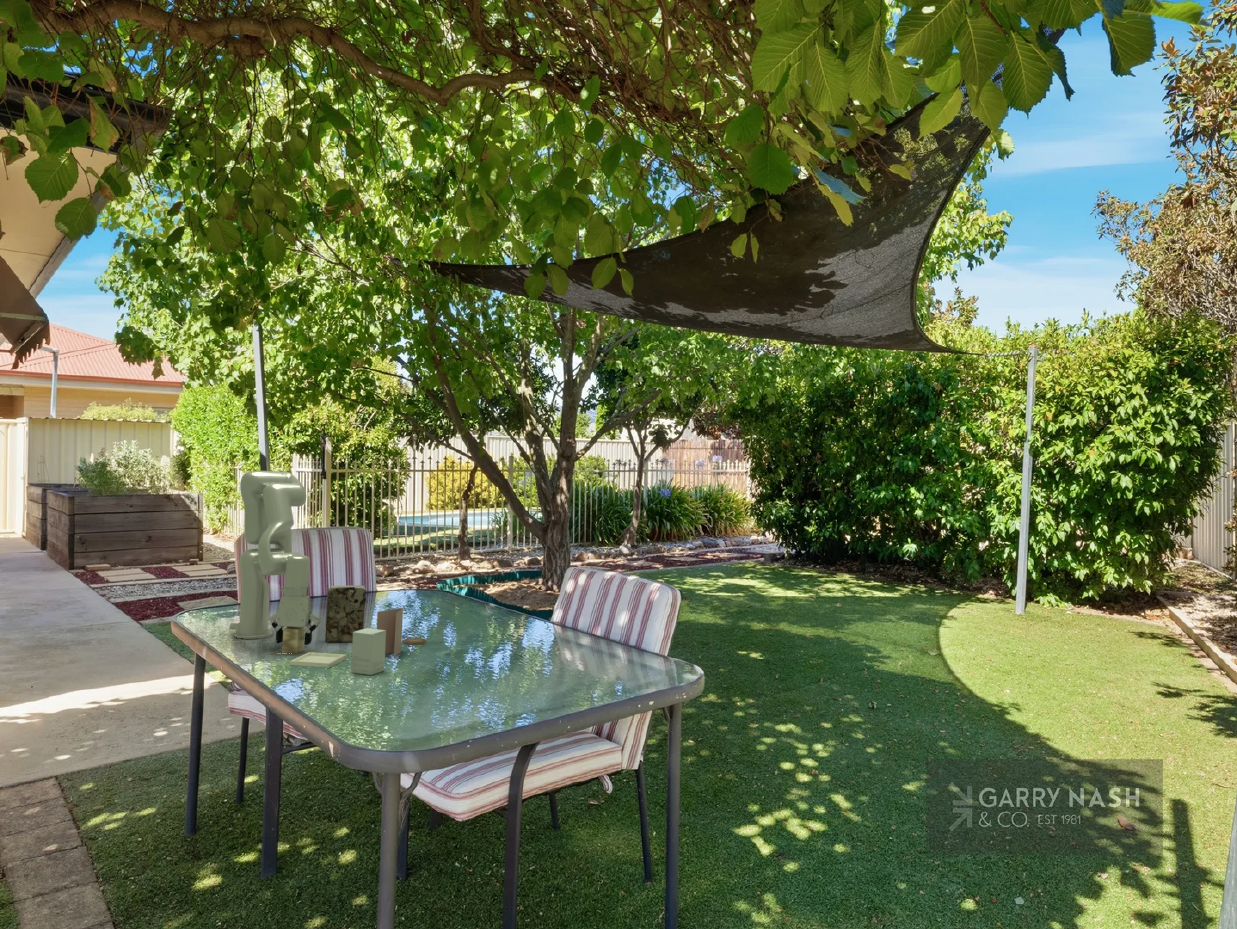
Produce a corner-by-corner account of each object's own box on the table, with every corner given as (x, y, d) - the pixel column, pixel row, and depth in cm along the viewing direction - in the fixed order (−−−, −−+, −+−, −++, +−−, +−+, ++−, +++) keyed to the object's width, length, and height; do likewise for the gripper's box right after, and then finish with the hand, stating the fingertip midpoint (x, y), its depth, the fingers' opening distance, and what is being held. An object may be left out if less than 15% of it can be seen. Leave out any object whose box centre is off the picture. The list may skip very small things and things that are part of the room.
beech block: (282, 652, 262) (283, 628, 263) (289, 649, 267) (290, 625, 268) (296, 653, 262) (297, 629, 262) (303, 650, 267) (305, 626, 267)
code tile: (266, 655, 259) (266, 654, 259) (284, 647, 271) (284, 646, 271) (301, 657, 258) (301, 656, 258) (318, 649, 270) (318, 648, 270)
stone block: (361, 638, 290) (364, 584, 291) (364, 642, 284) (367, 587, 284) (323, 640, 284) (326, 585, 284) (326, 644, 278) (329, 588, 278)
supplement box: (385, 670, 247) (387, 630, 247) (370, 675, 240) (372, 634, 240) (365, 667, 249) (367, 627, 249) (350, 672, 242) (352, 631, 242)
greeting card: (399, 650, 274) (401, 607, 274) (414, 653, 270) (416, 610, 271) (373, 656, 264) (375, 611, 265) (389, 659, 260) (391, 614, 261)
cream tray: (289, 665, 247) (290, 660, 247) (308, 656, 260) (308, 652, 260) (329, 668, 246) (329, 663, 246) (345, 659, 259) (346, 654, 259)
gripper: (265, 592, 262) (262, 644, 262) (316, 595, 261) (313, 647, 260) (276, 589, 269) (274, 639, 269) (326, 592, 268) (323, 642, 268)
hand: (293, 643), depth 265 cm, fingers open, 9 cm apart
